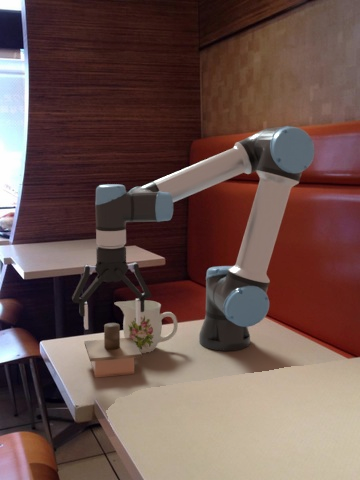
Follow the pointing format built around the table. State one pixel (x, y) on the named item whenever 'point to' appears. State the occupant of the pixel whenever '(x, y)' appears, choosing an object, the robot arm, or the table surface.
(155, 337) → the pitcher
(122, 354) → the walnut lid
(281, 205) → the robot arm
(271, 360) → the table surface
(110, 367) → the terracotta dish
